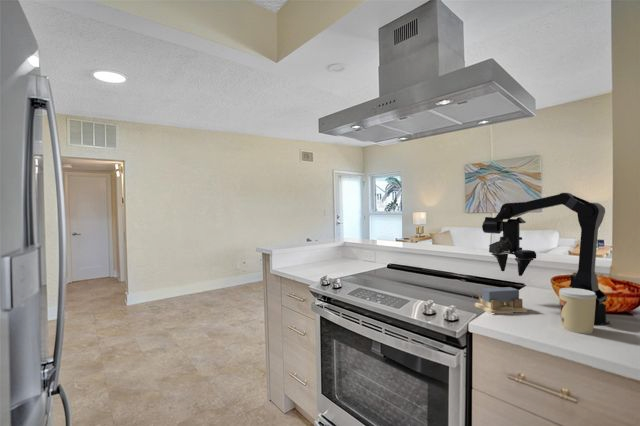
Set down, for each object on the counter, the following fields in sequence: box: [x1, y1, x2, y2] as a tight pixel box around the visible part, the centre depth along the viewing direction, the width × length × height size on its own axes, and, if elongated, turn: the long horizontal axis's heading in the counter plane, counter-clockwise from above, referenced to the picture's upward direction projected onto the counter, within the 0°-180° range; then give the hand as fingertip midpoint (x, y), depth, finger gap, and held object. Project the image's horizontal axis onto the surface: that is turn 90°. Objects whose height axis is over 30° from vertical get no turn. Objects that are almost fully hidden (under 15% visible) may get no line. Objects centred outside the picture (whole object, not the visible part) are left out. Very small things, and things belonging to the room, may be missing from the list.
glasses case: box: [481, 286, 520, 302], centre depth 122 cm, size 4×12×4 cm, turn 97°
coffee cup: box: [558, 287, 597, 335], centre depth 101 cm, size 9×9×12 cm
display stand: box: [474, 294, 528, 314], centre depth 122 cm, size 10×14×4 cm
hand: (511, 273), depth 128 cm, fingers open, 9 cm apart
